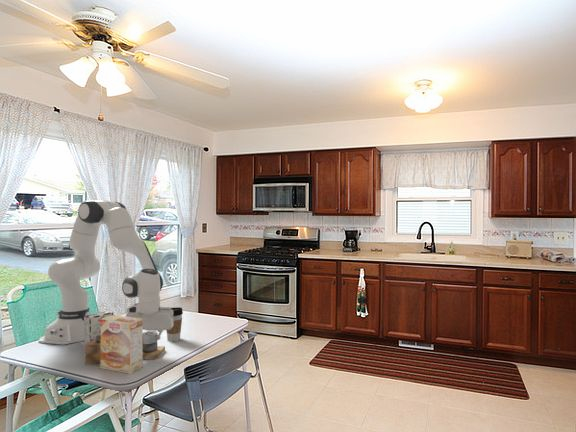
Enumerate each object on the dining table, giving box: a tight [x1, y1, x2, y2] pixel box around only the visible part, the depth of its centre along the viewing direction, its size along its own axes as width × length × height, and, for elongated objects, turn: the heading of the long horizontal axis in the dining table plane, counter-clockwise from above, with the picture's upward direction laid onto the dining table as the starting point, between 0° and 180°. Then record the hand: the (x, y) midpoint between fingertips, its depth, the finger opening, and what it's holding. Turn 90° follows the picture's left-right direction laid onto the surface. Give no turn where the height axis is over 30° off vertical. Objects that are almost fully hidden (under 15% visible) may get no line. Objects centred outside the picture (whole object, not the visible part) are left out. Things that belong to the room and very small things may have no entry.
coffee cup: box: [166, 306, 184, 343], centre depth 184 cm, size 8×8×15 cm
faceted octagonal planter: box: [142, 330, 159, 344], centre depth 164 cm, size 6×6×4 cm
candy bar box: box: [83, 310, 114, 348], centre depth 168 cm, size 11×5×16 cm, turn 148°
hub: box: [142, 333, 166, 360], centre depth 164 cm, size 10×10×9 cm
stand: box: [84, 335, 101, 366], centre depth 156 cm, size 7×7×10 cm
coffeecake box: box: [99, 314, 143, 375], centre depth 150 cm, size 15×7×20 cm, turn 69°
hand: (149, 339), depth 164 cm, fingers closed on faceted octagonal planter, 6 cm apart
